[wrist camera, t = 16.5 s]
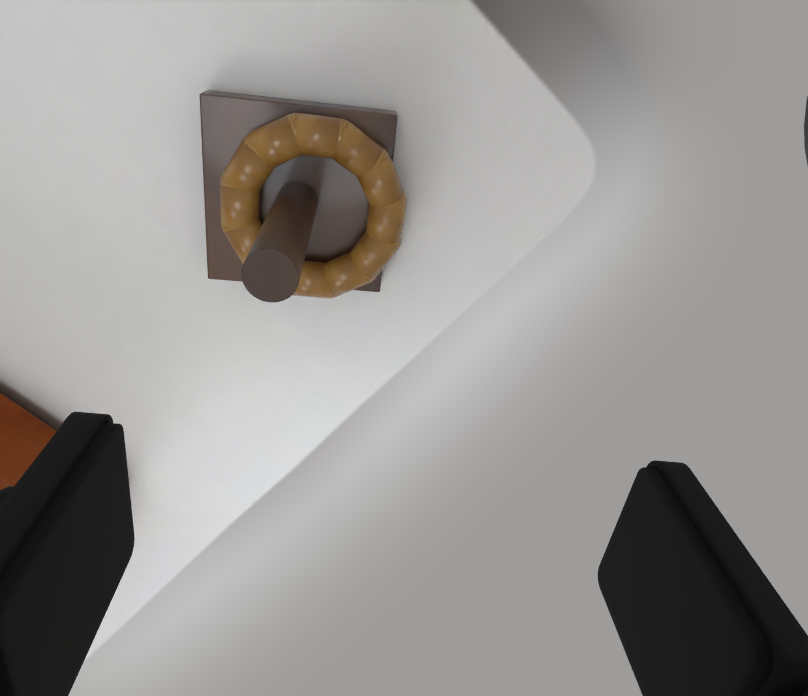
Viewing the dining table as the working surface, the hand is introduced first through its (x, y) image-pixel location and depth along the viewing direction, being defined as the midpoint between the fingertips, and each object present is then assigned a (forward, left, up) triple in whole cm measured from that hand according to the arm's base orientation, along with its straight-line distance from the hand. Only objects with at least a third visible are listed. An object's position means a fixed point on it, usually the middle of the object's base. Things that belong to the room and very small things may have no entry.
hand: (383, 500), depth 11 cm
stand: (+4, +1, -23) cm, 23 cm away
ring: (+3, +1, -21) cm, 21 cm away
